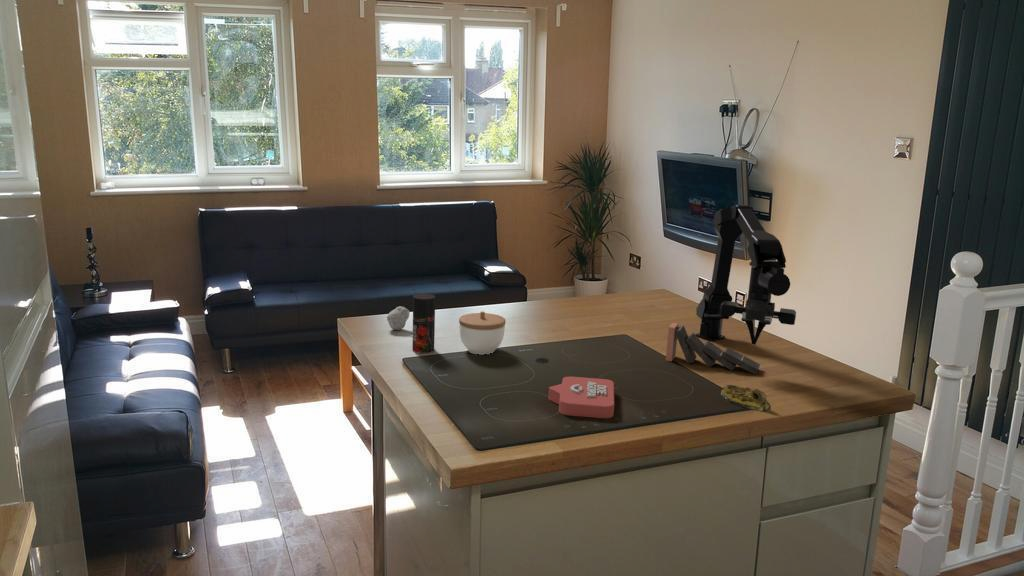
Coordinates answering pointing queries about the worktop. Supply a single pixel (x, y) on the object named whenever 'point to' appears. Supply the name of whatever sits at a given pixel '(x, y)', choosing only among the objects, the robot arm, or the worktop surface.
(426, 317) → the deodorant
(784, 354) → the worktop surface
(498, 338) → the lidded bowl
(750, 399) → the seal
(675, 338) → the domino
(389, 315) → the grey lumpy stone
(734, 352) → the domino
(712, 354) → the domino
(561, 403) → the plaque
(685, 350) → the domino
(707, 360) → the domino
